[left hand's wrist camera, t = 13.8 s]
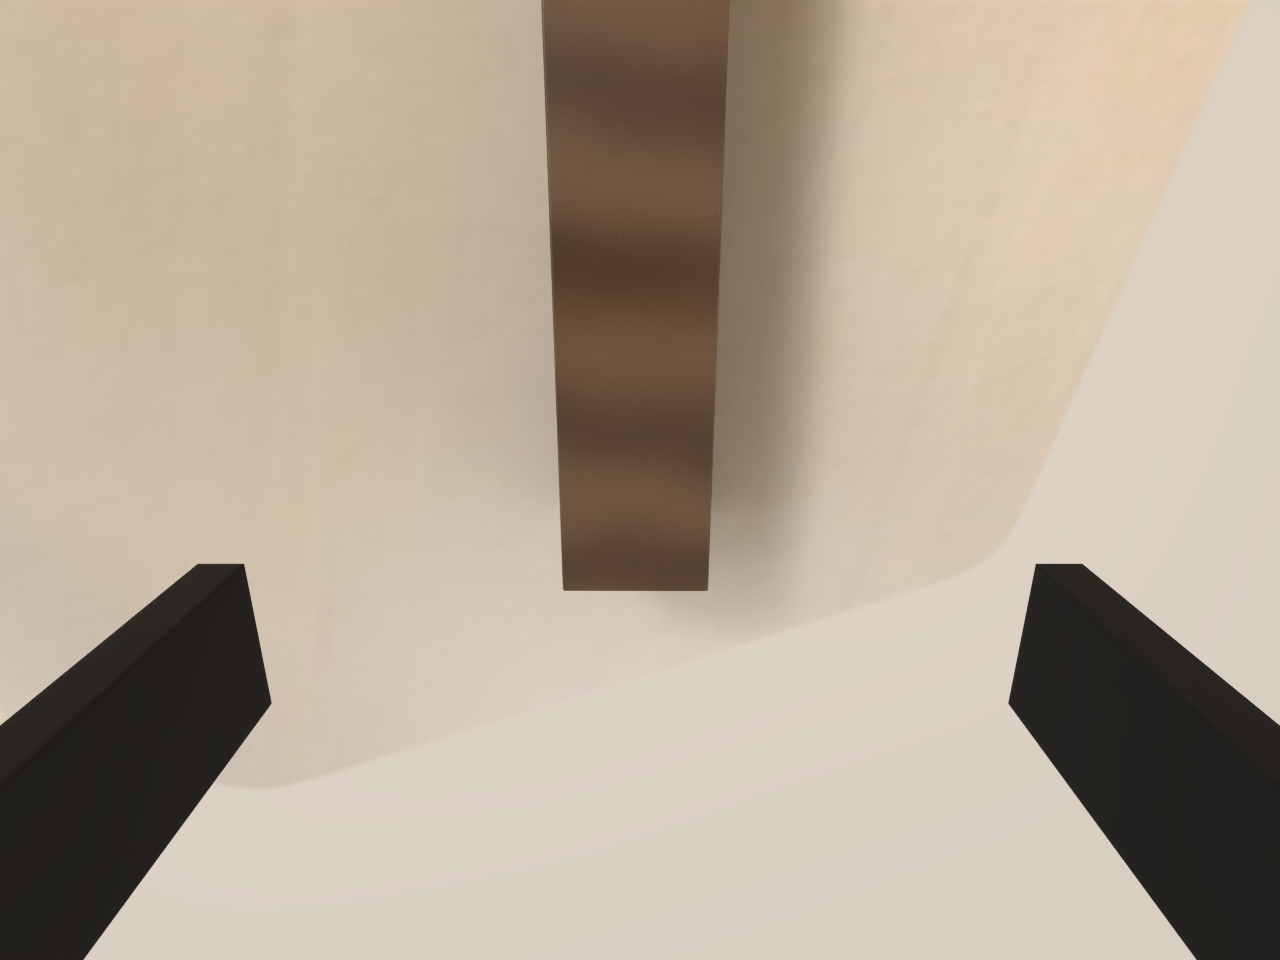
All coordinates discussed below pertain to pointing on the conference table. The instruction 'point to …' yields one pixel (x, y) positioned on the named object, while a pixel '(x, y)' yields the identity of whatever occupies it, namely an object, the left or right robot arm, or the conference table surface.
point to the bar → (635, 282)
